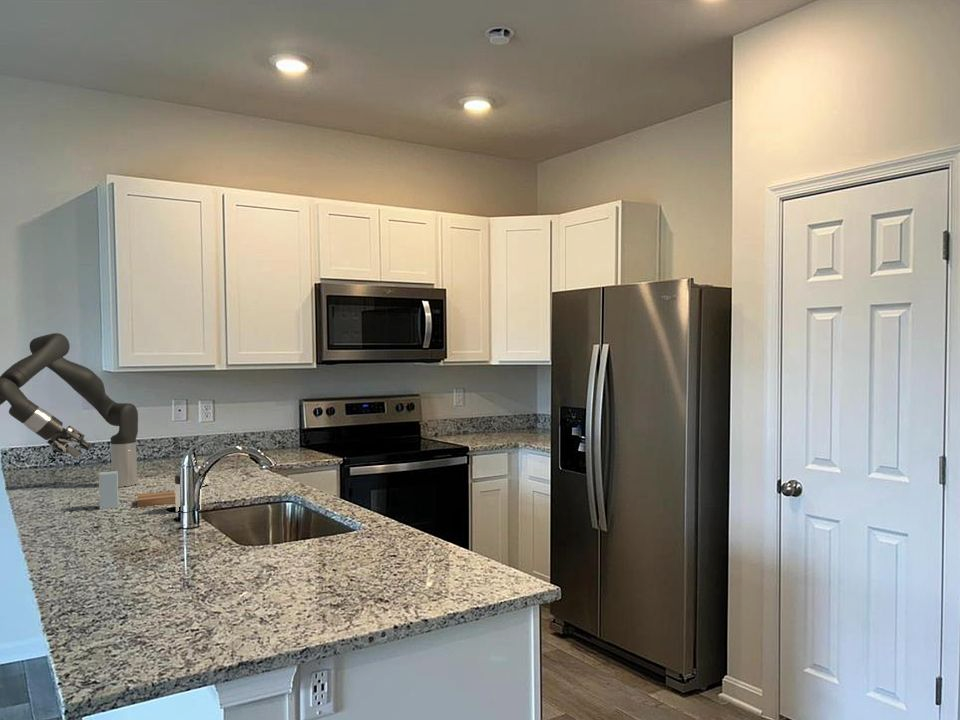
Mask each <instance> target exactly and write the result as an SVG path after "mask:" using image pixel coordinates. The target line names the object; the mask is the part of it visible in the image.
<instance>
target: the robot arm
mask: <svg viewBox="0 0 960 720" xmlns="http://www.w3.org/2000/svg"><path fill="white" fill-rule="evenodd" d="M70 348H71V346H70V342H69V339H68V338H67V337H66V336H65V335H64V334H62V333H59V332H55V333H54V332H53V333H50V334H46V335H41V336H38V337H34V338H33V339H31V341H30V342H29V350H30V353H31V354H30V355H28V356H26V357H24V358H22V359H20V360H18V361H17V362H15V363H14V364H12V365H11V366H10V367H9V368H7V369H6V370H5V371H4V372H3V373H2V374H1V375H0V406H1V405H2V404H4V403H5V402H8V403H9V405H10V408H9V409H8V414H9V415H10V416H11V417H13V418H14V419H16V420H17V421H18V422H20V423H22V424H23V425H24V426H25V427H26V428H27V429H29V430H30V431H32V432H33V433H35V434H36V435H38V436H39V437H40V438H42V439H43V440H45V441H46V442H47V444H48V445H50V446H51V447H52V448H54V449H55V450H57V451H58V452H59V453H63V452H64V453H66V452H67V453H68V454H69V455H70V456H73V457H74V458H78V457H79V455H81V452H80V451H79V450H77V449H76V448H75V447H73V446H71V445H70V444H76V445H78V446H80V447H81V448H82V449H84V450H86V451H88V452H89V451H90V450H91V449H92V448H93V445H92V444H91V443H89V442H88V441H86V440H85V438H84V437H85V434H83V433H82V432H81V431H79V430H77V429H76V428H74V427H73V426H71V425H68V426H67V427H66V428H65V427H63V425H64V424H63V422H62V421H61V420H60V419H59V418H57V417H55V416H54V415H52V413H50V412H48V411H47V410H45V409H44V408H42V407H40V406H39V405H37V404H35V403H34V402H33V401H31V400H30V399H28V397H27V396H26V395H25V394H24V392H22V390H21V387H23V386H25V385H26V384H27V383H28V382H29V381H30V380H31V379H33V377H35V376H36V375H37V374H38V373H40V372H41V371H43V370H44V369H45V368H47V369H49V370H51V371H52V372H54V373H55V374H56V375H57V376H59V378H60V379H62V380H63V381H64V382H65V383H67V384H68V385H69V386H70V387H71V388H72V389H73V390H74V391H75V392H76V393H77V394H78V395H80V396H81V397H82V398H83V399H84V400H86V402H88V403H89V405H91V406H92V407H93V408H94V409H95V410H96V411H97V412H98V413H99V414H100V416H101V417H102V418H103V419H104V420H105V422H106V423H108V424H109V425H111V426H115V427H118V432H117V433H116V434H114V435H112V436H111V437H110V460H111V462H110V463H111V471H118V488H124V486H126V487H132V486H136V485H138V462H137V461H138V459H137V457H138V456H137V455H138V454H137V436H138V431H139V411H138V409H137V407H136V406H135V404H134V403H129V402H128V403H123V402H119V403H118V402H115V400H113V399H112V398H110V397H109V395H107V394H106V391H105V389H106V388H105V385H104V382H103V380H102V379H101V378H100V377H99V376H98V375H97V373H95V372H94V371H92V370H91V369H90V368H88V367H87V366H84V365H81V364H78V363H76V362H73V361H72V360H71V361H70V360H68V359H66V358H65V356H67V354H69V351H70ZM135 484H136V485H135ZM131 485H132V486H131Z"/></svg>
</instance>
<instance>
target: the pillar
mask: <svg viewBox="0 0 960 720" xmlns="http://www.w3.org/2000/svg"><path fill="white" fill-rule="evenodd" d="M98 491H99V492H98V496H99V510H100V509H103V510H109V508H112V509H118V508H119V505H120V503H119V487H118V471H112V470H111V471H102V472H99V473H98Z"/></svg>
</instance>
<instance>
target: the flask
mask: <svg viewBox="0 0 960 720" xmlns="http://www.w3.org/2000/svg"><path fill="white" fill-rule="evenodd" d="M196 461H197V463H196V465H197V464H198V466H200V465H201V464H202V463H203V461H204V459H201V460H196ZM209 482H210V483H211V481H210V479H209V476H208V474H207V475H206V477H205V480H204V484H206V483H209Z"/></svg>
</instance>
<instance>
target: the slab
mask: <svg viewBox="0 0 960 720" xmlns="http://www.w3.org/2000/svg"><path fill="white" fill-rule="evenodd" d="M136 500H137V502H136V503H137V508H138V507H140V508H146V506H150V507H156V506H155V505H160V506H165V505H164V504H169V505H176V500H175V490H169V491H157V492H149V493H138V494H137V499H136Z"/></svg>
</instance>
